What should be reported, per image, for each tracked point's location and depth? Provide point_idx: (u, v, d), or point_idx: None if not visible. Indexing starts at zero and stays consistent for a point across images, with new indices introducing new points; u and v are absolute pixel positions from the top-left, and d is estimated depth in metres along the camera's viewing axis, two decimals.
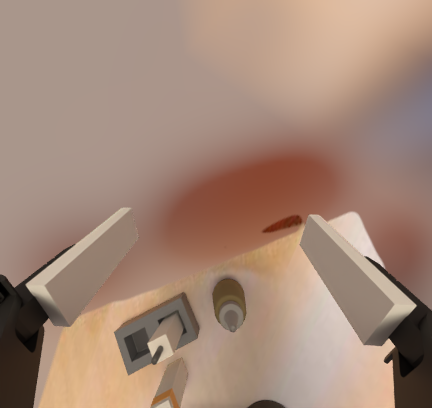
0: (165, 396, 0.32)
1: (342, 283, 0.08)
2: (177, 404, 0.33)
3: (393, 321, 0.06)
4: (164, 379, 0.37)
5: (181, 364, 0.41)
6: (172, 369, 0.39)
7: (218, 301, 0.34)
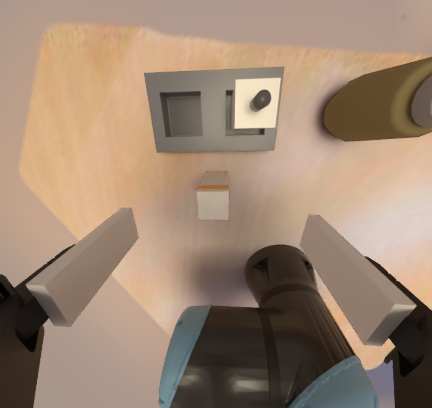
0: (221, 188, 0.21)
1: (342, 283, 0.08)
2: None
3: (393, 321, 0.06)
4: (207, 178, 0.26)
5: None
6: (216, 175, 0.28)
7: (426, 63, 0.14)
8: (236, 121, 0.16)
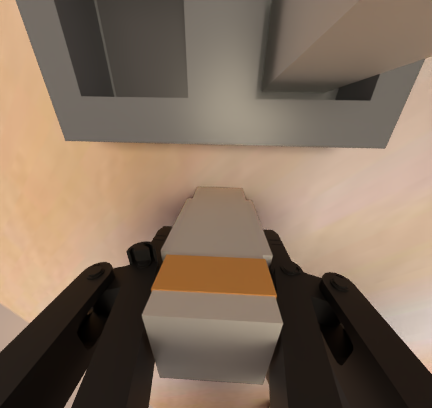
0: (246, 288, 0.06)
1: None
2: None
3: None
4: (200, 212, 0.10)
5: None
6: (221, 199, 0.12)
7: None
8: None
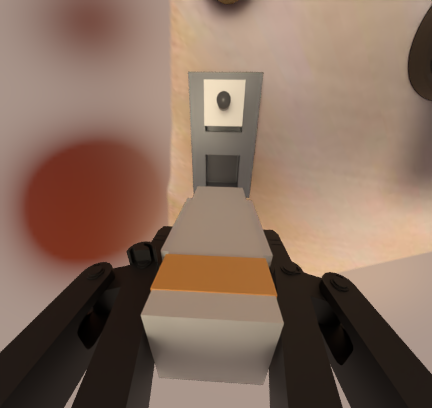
0: (246, 287, 0.05)
1: None
2: None
3: None
4: (200, 212, 0.10)
5: None
6: (221, 199, 0.12)
7: None
8: (236, 124, 0.17)
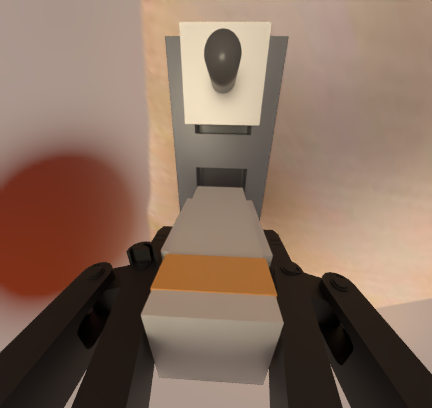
0: (246, 287, 0.05)
1: None
2: None
3: None
4: (200, 212, 0.10)
5: None
6: (221, 199, 0.12)
7: None
8: (247, 121, 0.09)
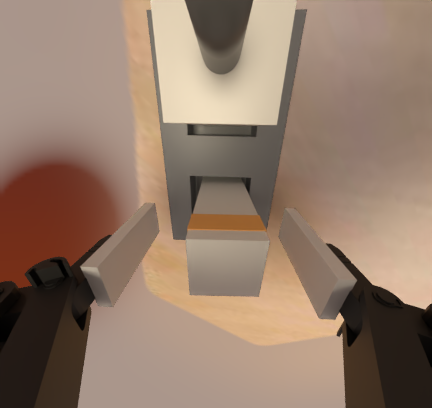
0: (247, 228, 0.09)
1: (306, 267, 0.09)
2: None
3: (340, 295, 0.07)
4: (209, 191, 0.13)
5: None
6: (224, 183, 0.15)
7: None
8: (259, 119, 0.06)
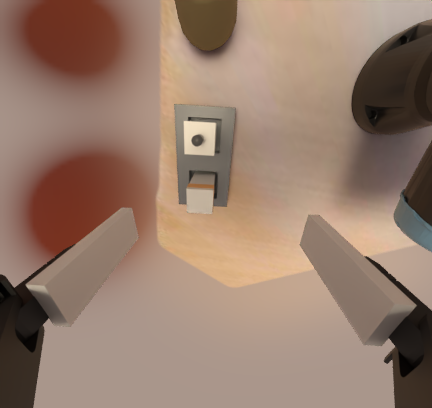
0: (207, 187, 0.25)
1: (342, 283, 0.08)
2: None
3: (393, 321, 0.06)
4: (197, 177, 0.30)
5: None
6: (205, 174, 0.32)
7: None
8: (209, 154, 0.22)
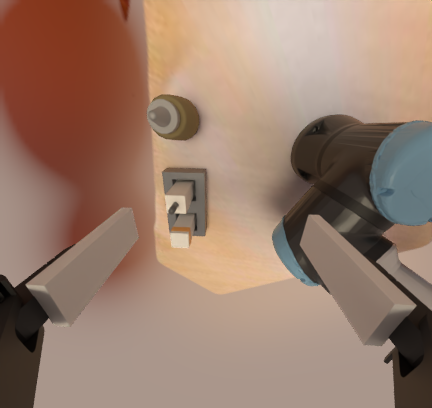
0: (185, 230, 0.37)
1: (342, 283, 0.08)
2: (190, 238, 0.39)
3: (393, 321, 0.06)
4: (180, 218, 0.41)
5: (195, 215, 0.45)
6: (187, 214, 0.43)
7: None
8: (183, 212, 0.34)
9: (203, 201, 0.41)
